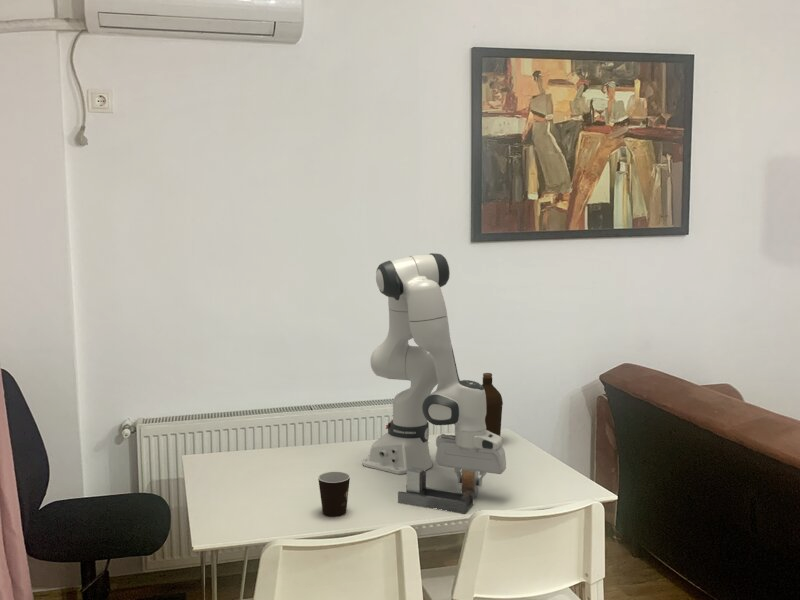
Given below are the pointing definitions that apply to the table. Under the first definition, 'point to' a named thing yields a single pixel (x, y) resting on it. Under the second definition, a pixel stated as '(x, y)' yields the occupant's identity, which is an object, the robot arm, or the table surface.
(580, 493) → the table surface
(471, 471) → the finger
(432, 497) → the rail
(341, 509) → the coffee mug
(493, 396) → the olive oil
